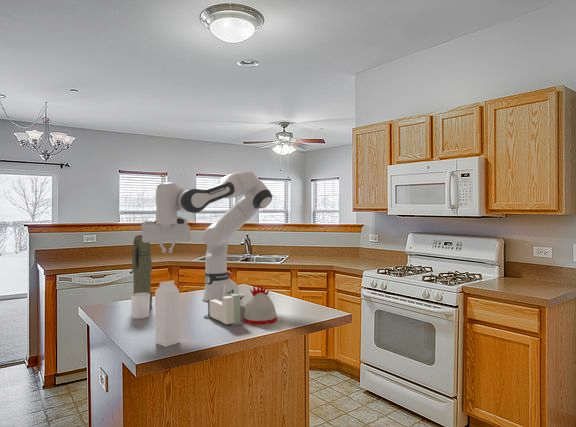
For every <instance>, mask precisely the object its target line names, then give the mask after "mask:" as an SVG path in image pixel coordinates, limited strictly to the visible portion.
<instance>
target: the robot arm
mask: <svg viewBox="0 0 576 427" xmlns="http://www.w3.org/2000/svg"><path fill="white" fill-rule="evenodd" d="M243 195H244V196H243ZM240 196H242V197H241V198H240V199H239V200H238V201H237V202H236V203H235V204H233V205H232V206H231V207H230V208H229V209H228V210H227V211H226V212H224V214H222V215H220V216H219V217H218V218H217V219H216V220H215V221H213V222H211V224H210V225H209V226H207V228H204V229H205V230H204V231H203V233H202V241H203V242H204V244H205V245H206V252H205V257H204V258H205V260H204V261H205V272H204V283H205V284H204V291H203V296H202V300H203V301H205V302H208V299H209V298H213V300H214V299H217V300H219V301H222V297H225V296H230V295H232V294H239V295H240V298H243V297H244V296H245V295H244V293H241V292H240V288H239V285H238V284H237V283H236V282H235V281H233V280H232V279H231V278H230V277H233V275H234V273H233V271H229V272H228V268H227V267H228V266H227V264H228V263H227V262H228V261H227V258H228V257H227V256H228V246H229V238H230V237H231V236H232V235H233V234H235V233H236V232H237V231H238V230H239V229H241V227H243V226H244V225H245V224H246V223H247V222H248V221H250V219H252V217H253V216H255V214H256V213H257V212H258V211H259V209H264V208H266V207H267V206H269V205H270V204H271V203H272V199H273V194H272V192H271V191H270V190H269V189H268V188H267V186H266V184H264V182H263V181H261V180H260V178H258V177H257V176H256V175H255V173H254V172H253V171H251V170H244V171H243V170H242V171H235V172H233V173H230V174H227V175H225V176H223V177H221V178H220V179H219V180H218V182H217V185H214V186H212V187H208V188H205V189H198V188H192V189H184V188H182V187H181V186H179V185H178V184H176V183H175V182H173V181H171V182H166V183H165V182H163V183H160V184H158V185H157V187H156V189H155V205H156V211H155V220H145V221H144V222H142V223H141V227H140V228H141V231H142V234H141V235H142V241H143V242H144V243H149V242H150V243H159V247H160V248H161V253H164V254H165V253H167V248H166V247H165V246H164V243H171V244H170V245H171V247H169V248H168V253H170V254H171V253H173V248H174V247H175V243H176V242H178V243H179V242H190V241H192V234H191V233H192V232H191V228H190V225H189V224H188V223H189V220H188V219H187V218H184V217H181V216H178V212H181V213H193V214H198V213H200V212H202V211H204V210H205V208H206V207H207V206H208V205H210V204H212V203H215V202H217V201H219V200H222V199H231V198H232V199H233V198H237V197H240Z"/></svg>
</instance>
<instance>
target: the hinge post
mask: <svg viewBox="0 0 576 427" xmlns="http://www.w3.org/2000/svg"><path fill="white" fill-rule="evenodd" d="M210 300H213V298H209V299H208V301H207V314H205V315H204V316H203V318H204V319H207V320H212V319H214V320H215V318H212V317H210Z"/></svg>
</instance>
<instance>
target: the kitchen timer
mask: <svg viewBox="0 0 576 427" xmlns="http://www.w3.org/2000/svg"><path fill="white" fill-rule="evenodd" d="M252 289H253V290H252ZM266 289H267V287H264V288H263V285H262V284H261V285H260V286H259V285H257V289H256V287H255V286H253V288H250V289H249V290H250V293H251V295H252V296H251V297H250V299H248V302H247V303H246V307H245V310H244V313H243V323H246V324H248V325H255V326H256V325H257V326H259V325H260V326H262V325H263V326H264V325H270V324H273V323H275V322H277V321H278V320H277V311H276V308H275V304H274V302H273V300H272V299H271V298H270V296H269V295H268V294H269V292H270V290H269V289H267V291H266Z"/></svg>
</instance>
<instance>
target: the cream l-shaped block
mask: <svg viewBox="0 0 576 427" xmlns="http://www.w3.org/2000/svg"><path fill="white" fill-rule="evenodd" d="M210 317H212V318H214V320H217V321H220V322H221V323H222V324H225V325H229V324H231V323H234V297H232V296H225V297H222V301H219V300H217V299H214V300H210Z"/></svg>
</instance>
